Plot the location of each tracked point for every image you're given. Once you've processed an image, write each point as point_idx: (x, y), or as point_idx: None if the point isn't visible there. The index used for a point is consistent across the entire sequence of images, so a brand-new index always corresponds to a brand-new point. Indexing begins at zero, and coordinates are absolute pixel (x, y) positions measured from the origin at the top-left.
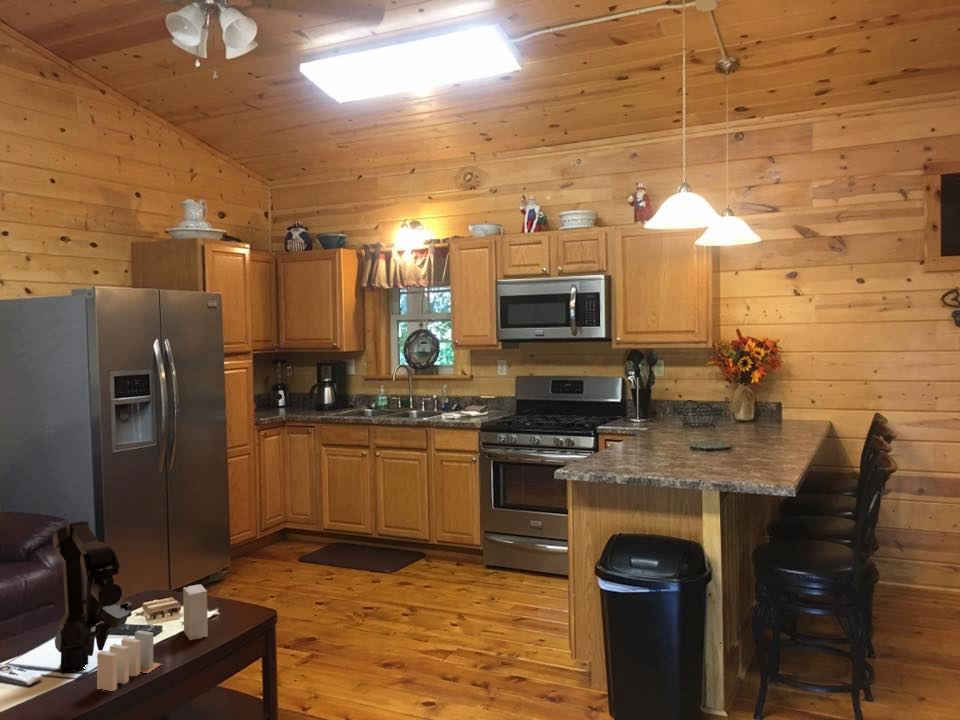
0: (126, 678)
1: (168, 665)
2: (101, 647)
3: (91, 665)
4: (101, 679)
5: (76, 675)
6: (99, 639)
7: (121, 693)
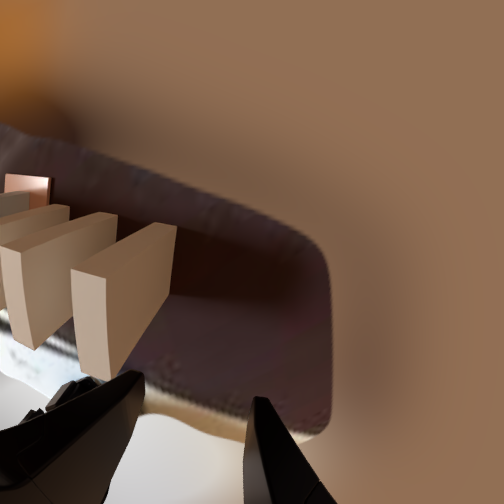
0: (100, 216)
1: (7, 154)
2: (134, 390)
3: (68, 370)
4: (157, 293)
5: None
6: (104, 456)
7: (179, 186)
